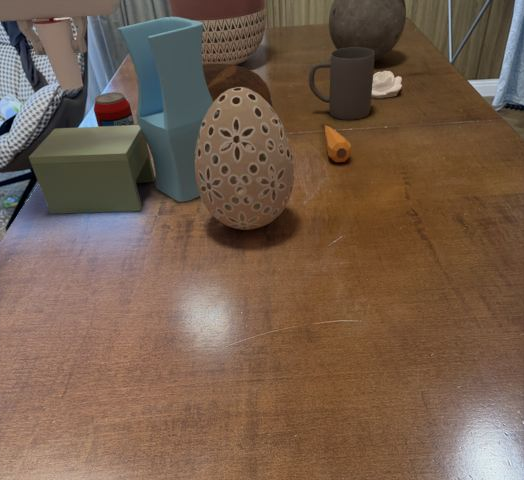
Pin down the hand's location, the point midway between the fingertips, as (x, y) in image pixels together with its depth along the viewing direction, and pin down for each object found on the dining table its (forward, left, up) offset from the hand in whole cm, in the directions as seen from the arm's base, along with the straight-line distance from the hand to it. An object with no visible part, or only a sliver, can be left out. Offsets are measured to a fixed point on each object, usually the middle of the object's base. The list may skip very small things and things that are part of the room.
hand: (61, 53), depth 75 cm
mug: (+44, +36, -23) cm, 61 cm away
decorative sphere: (+53, +75, -23) cm, 95 cm away
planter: (+13, +80, -23) cm, 84 cm away
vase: (+15, +3, -23) cm, 28 cm away
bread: (+14, +42, -23) cm, 50 cm away
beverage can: (0, +15, -23) cm, 27 cm away
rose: (+55, +49, -23) cm, 77 cm away
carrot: (+42, +19, -23) cm, 52 cm away
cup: (0, 0, -5) cm, 5 cm away
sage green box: (0, 0, -23) cm, 23 cm away
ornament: (+27, -11, -23) cm, 37 cm away
